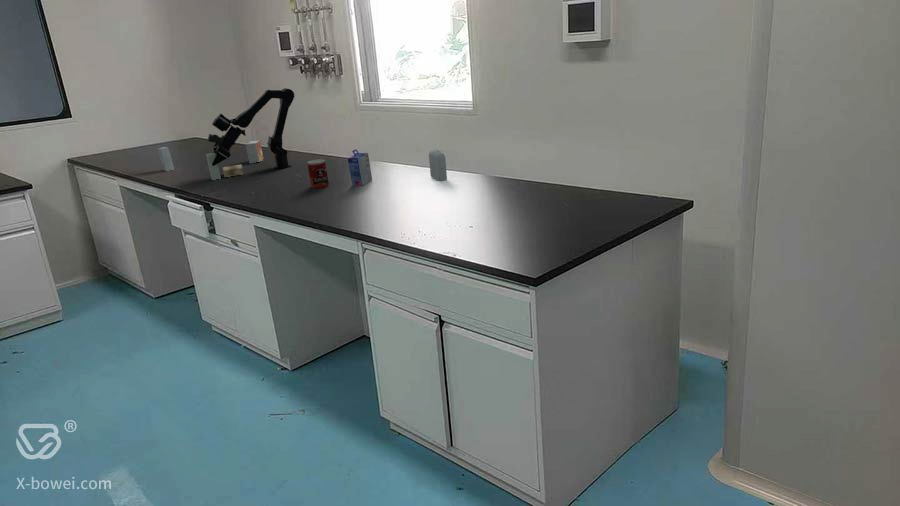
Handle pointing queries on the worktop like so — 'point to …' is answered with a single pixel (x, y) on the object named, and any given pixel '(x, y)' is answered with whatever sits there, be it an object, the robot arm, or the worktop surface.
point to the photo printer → (437, 165)
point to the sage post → (213, 167)
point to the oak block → (233, 170)
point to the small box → (254, 151)
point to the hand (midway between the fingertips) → (211, 163)
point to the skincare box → (165, 158)
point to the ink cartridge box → (359, 168)
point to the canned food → (318, 173)
